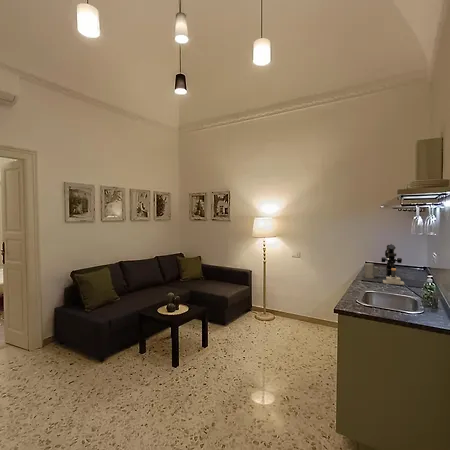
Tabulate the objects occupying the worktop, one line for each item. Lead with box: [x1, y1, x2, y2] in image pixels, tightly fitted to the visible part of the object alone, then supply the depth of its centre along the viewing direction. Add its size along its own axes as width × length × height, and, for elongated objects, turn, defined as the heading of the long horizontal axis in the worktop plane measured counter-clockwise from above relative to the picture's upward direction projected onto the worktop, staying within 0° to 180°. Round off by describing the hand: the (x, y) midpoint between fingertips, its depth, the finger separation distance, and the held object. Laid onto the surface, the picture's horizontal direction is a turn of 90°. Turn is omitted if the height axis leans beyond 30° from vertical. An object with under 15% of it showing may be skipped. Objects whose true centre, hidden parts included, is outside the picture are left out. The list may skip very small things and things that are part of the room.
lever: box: [391, 267, 397, 278], centre depth 286 cm, size 2×4×10 cm, turn 64°
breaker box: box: [382, 275, 405, 286], centre depth 289 cm, size 10×18×7 cm, turn 64°
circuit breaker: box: [363, 262, 381, 279], centre depth 313 cm, size 8×14×15 cm, turn 78°
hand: (391, 266), depth 303 cm, fingers closed
